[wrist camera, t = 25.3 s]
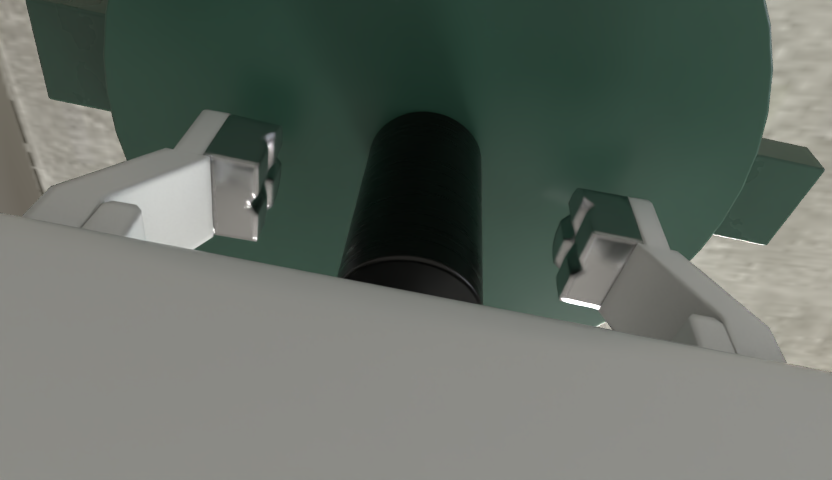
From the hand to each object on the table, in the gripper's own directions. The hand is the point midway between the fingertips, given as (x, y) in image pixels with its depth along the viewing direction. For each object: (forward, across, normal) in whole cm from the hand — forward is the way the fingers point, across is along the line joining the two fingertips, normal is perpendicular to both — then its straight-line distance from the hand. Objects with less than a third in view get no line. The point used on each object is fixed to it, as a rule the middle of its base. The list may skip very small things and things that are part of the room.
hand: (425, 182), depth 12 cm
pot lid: (+1, 0, 0) cm, 1 cm away
